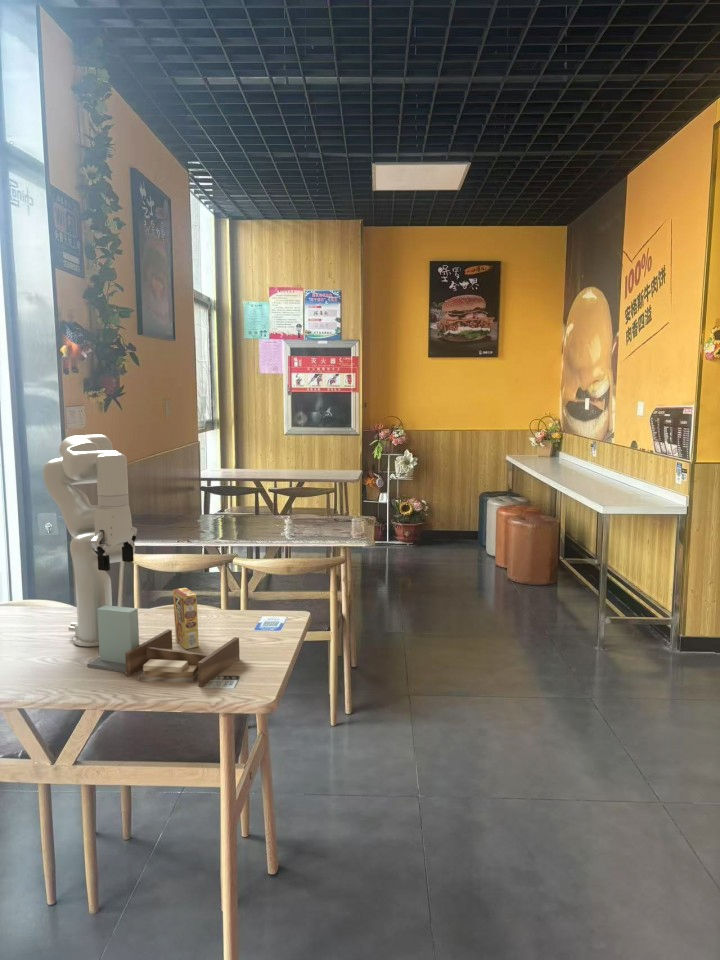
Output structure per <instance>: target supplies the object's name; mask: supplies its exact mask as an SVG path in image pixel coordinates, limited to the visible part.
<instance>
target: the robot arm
mask: <svg viewBox="0 0 720 960" xmlns="http://www.w3.org/2000/svg"><path fill="white" fill-rule="evenodd" d="M59 445H60V446H59V454H60V456H61V457H58V458H53V459H51V460H49V461H47V462H45V464H44V466H43V470H42V475H43V476H42V477H43V482H44V485H45V488H46V490H47V492H48V494H49V495H50V497H51V498H52V499H53V501H54V502H55V503H56V504H57V506H58V508H59V510H60V512H61V516H62V518H63V520H64V523H65V526H66V528H67V531H68V533H69V534H70V536H71V537H72V539H71V541H70V544H69V550H70V555H71V560H72V565H73V570H74V580H75V581H74V582H75V597H76V599H75V600H76V615H77V617H76V618H77V622H76V621H75V622H73V621H72V622H71V623H70V625H69V626H68V630H67V631H69V632H74V636H73V637H72V643H73V644H74V645H76V646H79V647H99V634H98V615H97V609H98V608H100V607H103V606H105V605H109V606H113V600H112V580H111V576H110V575H109V574H108V572H109V571H111V566H110V565H111V564H113V563H119V562H126V563H133V562H134V560H135V558H134V556H135V552H136V543H135V541H136V539H137V533H138V528H137V527H135V526H133V521H132V513H131V508H130V505H129V504H130V503H129V502H130V501H129V500H130V499H129V480H128V477H129V476H128V460H127V456H126V455H125V454H124V453H121V452H120V451H118V450H114V448H113V443H112V441H111V440H110V438H109V437H108V436H107V435H105V434H85V435H83V434H81V435H72V436H71V435H70V436H68V437H66V438H64V439H63V440H62V442H61V443H60V444H59ZM85 484H87V485H88V484H96V487H97V488H96V489H97V491H96V492H97V504H96V505H94V504H91V502H90V499H89V497H88V495H86V493H84V492H83V491H82V490H81V489H79V488H77V487H75V486H74V485H85Z"/></svg>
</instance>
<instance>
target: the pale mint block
mask: <svg viewBox="0 0 720 960" xmlns="http://www.w3.org/2000/svg"><path fill="white" fill-rule="evenodd" d="M97 615H98V634H99V646H98V647H99V648H98V649H99V651H98V653H99V657H100V660H103V661H111V662H118V663H125V664H126V658H125V653H126V652H128V651H130V650H132V649H134V648H135V647H137V646H139V645H140V634H139V633H140V631H139V609H138V608H136V607H126V606H118V605H112V606H109V605H105V606H103V607H100V608H98V609H97Z"/></svg>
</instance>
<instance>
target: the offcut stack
mask: <svg viewBox="0 0 720 960" xmlns="http://www.w3.org/2000/svg"><path fill="white" fill-rule="evenodd" d="M196 680H198V668H197V665H188V661H176V660H156V659H150V660H149V661H148V662H146V663H145V664H144V665H143V669H142V673H140V675H139V676H138V681H140V682H164V683H165V682H167V683H189V684H190V683H195V681H196Z"/></svg>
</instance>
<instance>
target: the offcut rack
mask: <svg viewBox="0 0 720 960" xmlns="http://www.w3.org/2000/svg"><path fill="white" fill-rule="evenodd" d="M125 658H126V672H125V674H126V677H132V676H133V675H135V674H137V673H138V672H140V671H143V665H144V664H145V663H146V662H148V661H149V660H150V659H156V660H176V661H188V665H197V668H198V678H197V686H198V687H201V688H202V687H204V686H206V685H207V684H209V681H210V680H211V681H212V680H214V679H215V678H216V676H217V677H218V676H219V675H221V674H223V672H225V671H226V670H228V669H229V668H230V667H231V666H233V665H234V664H235V663H237V662H238V661H239V660H240V659H241V658H240V638H239V637H236V636H235V637H233V638H232V639H230V640H229V641H228V642H226V643H224V644H222V645H221V646H219V648H217V649H216V650H214V651H213V652H211V653H210V654H208V653H201V652H200V653H199V652H191V651H184V650H177V649H173V630H172V629H166V630H164V631H162V632H161V633H159V634H157V635H155V636H154V637H152V638H150V639H148V640H147V641H144V642H142V643H141V644H139V646H137V647H135V648H134V649H132V650H130V651H128V652H126V653H125ZM236 661H237V662H236ZM232 664H233V665H232ZM224 670H225V671H224ZM220 673H221V674H220ZM214 677H215V678H214ZM213 678H214V679H213ZM211 681H210V682H211Z"/></svg>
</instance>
